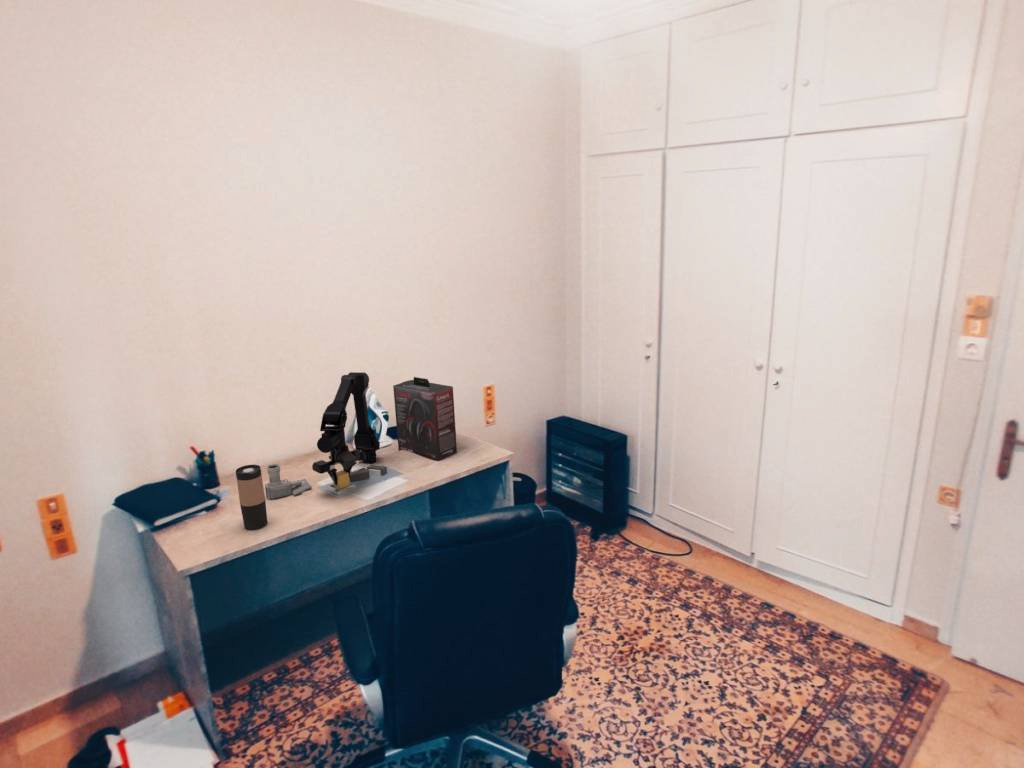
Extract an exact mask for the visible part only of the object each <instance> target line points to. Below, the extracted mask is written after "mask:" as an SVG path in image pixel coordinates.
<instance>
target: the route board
mask: <svg viewBox="0 0 1024 768" xmlns="http://www.w3.org/2000/svg"><path fill="white" fill-rule="evenodd" d="M366 469H368V470H370V471H371V477H369V479H367V480H362V481H356V482H351V483H350V486H352V485H355V487H356V490H354V491H352V492H349V493H346V494H344V495H341V496H336V495H335V494H333V493H331V492H329V491H327V490H326V486H327V485H330V484H333V483H334V482H333V481H332V482H329V483H327V484H324V485H321V486H317V489H319V490H321V491H323V492H325V493H327V494H329V495H331V496H332V497H334V498H336V499H339V498H341V497H344V496H347V495H350V494H353V493H355V492H358V491H361V490H363V489H366V488H369V487H371V486H374V485H377V484H379V483H383V482H385V481H387V480H390V479H393V478H396V477H398V476H400V475H404V473H402V472H400V471H398V470H396V469H393V468H391V467H389V466H386V465H384V464H381V465H376V464H370V465H368V466H367V468H366ZM350 486H347V487H350ZM347 487H344V488H347ZM344 488H341V489H344ZM335 489H337V490H341V489H339V488H335Z"/></svg>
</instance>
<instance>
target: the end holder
mask: <svg viewBox="0 0 1024 768" xmlns="http://www.w3.org/2000/svg"><path fill="white" fill-rule="evenodd" d="M335 488H337V487H335V486H334V483H333V484H330V485H327V486H326V490H327V491H329V492H331V493H333V494H335V495H336V496H341V495H344V494H346V493H349V492H352V491H354V490H356V487H355V485H352V486H350V487H347V488H344V489H341V490H337V489H335Z"/></svg>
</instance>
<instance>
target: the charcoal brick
mask: <svg viewBox="0 0 1024 768" xmlns="http://www.w3.org/2000/svg"><path fill="white" fill-rule="evenodd" d="M353 471H354V472H352V471H351V472H350V475H349V478H350V483H351V482H356V481H362V480H367V479H369V473H368V470H367V468H366V469H365V470H360V471H355V470H353Z"/></svg>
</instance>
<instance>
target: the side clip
mask: <svg viewBox="0 0 1024 768" xmlns="http://www.w3.org/2000/svg"><path fill="white" fill-rule="evenodd" d="M365 469H367V468H366V467H361V468H358V469H355V470H353V471H352V470H351V472H354V471H360V470H365ZM367 470H368V469H367ZM368 473H369V477H371V471H370V470H368ZM349 484H350V478H349Z"/></svg>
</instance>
